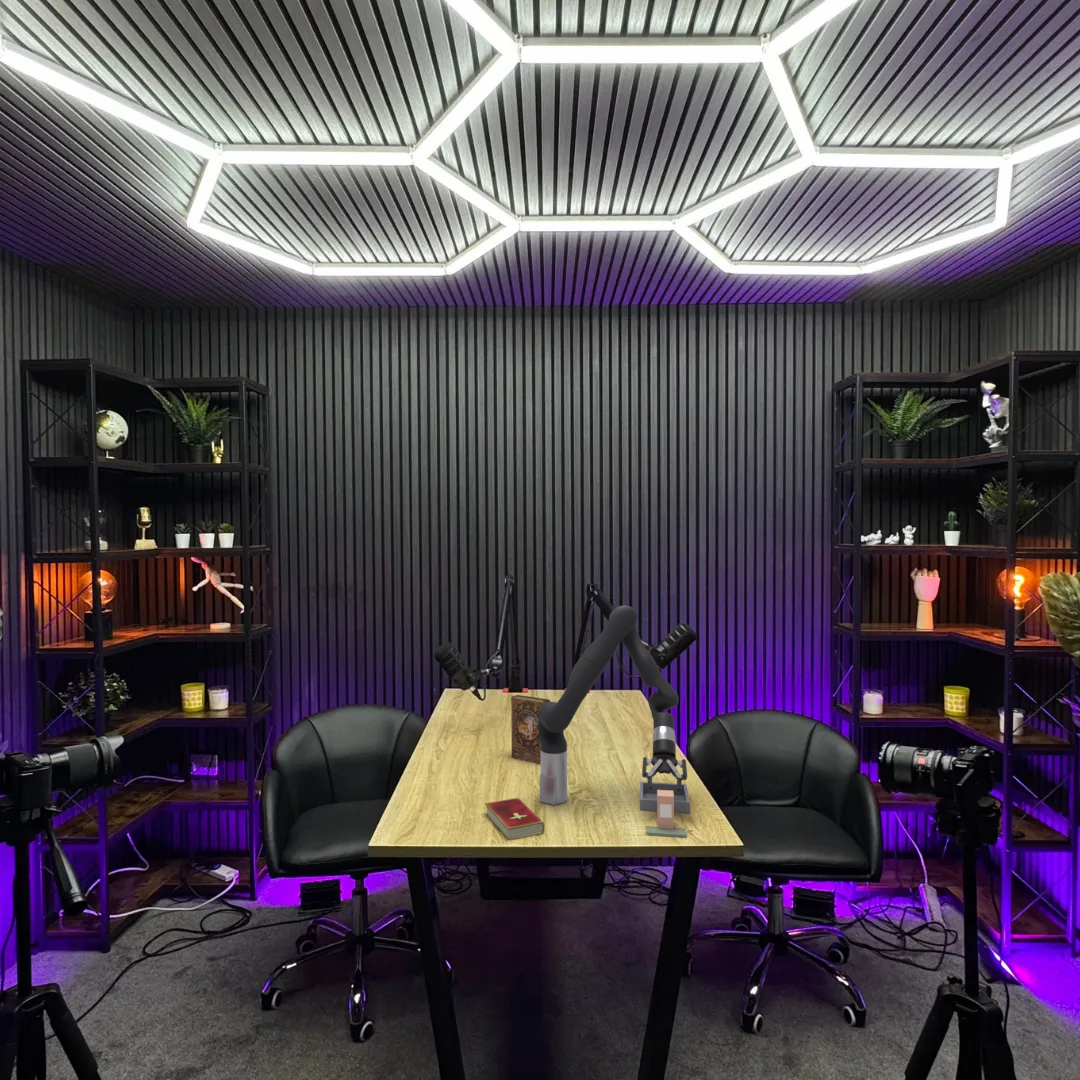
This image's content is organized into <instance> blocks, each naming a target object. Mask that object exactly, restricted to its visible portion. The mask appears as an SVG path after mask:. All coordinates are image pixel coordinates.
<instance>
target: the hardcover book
mask: <svg viewBox="0 0 1080 1080" xmlns="http://www.w3.org/2000/svg"><path fill="white" fill-rule="evenodd" d="M484 804H485V806H486V815H487V816H488V817H489V818H490V819H491V821H492V822H493V824H495V825H496V827H497V828H498V829H499V830H500V832H502V834H503V835H504V836H505V837H506V838H507V839H508V840H512V839H517V838H522V837H529V836H533V835H538V834H539V835H540V834H544V833H545V823H544V821H543V820H542V819H541V818H539V816H538V815H537V814H535V813H534V812H533V811H532V810H531V808H529V807H528V806H527V805H526V803H524V802H523V801H522V800H521V799H520V798H519V797H513V798H508V799H501V800H495V801H490V802H485V803H484Z"/></svg>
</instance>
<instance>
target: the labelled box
mask: <svg viewBox="0 0 1080 1080" xmlns="http://www.w3.org/2000/svg"><path fill="white" fill-rule="evenodd" d="M656 819H657V821H656V822H657V823H656V825H657V826H656V827H657V828H665V829H674V828H675V812H674V793H673V791H670V790H657V811H656Z"/></svg>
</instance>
